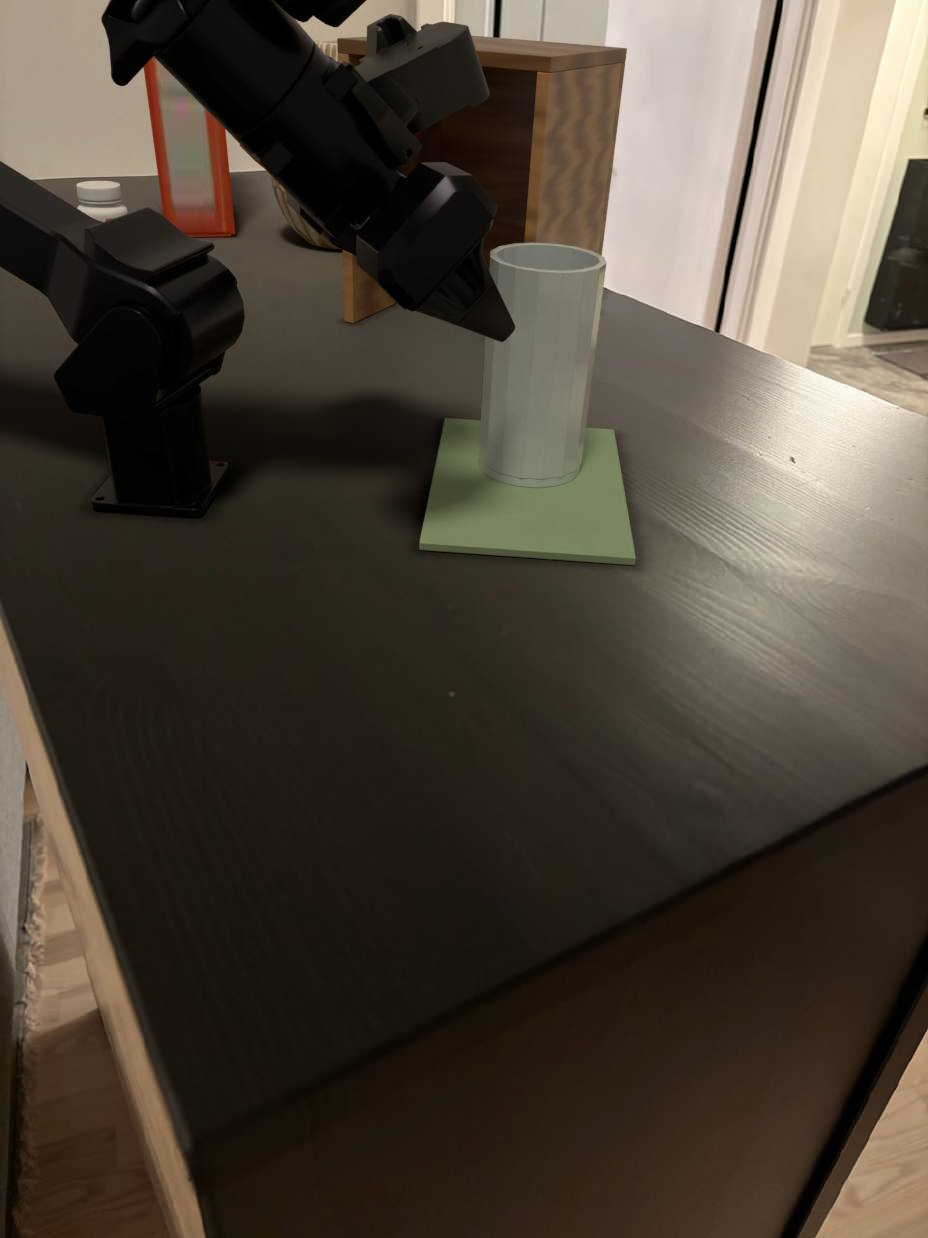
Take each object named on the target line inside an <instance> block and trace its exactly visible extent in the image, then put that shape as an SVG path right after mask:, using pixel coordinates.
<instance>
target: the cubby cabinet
mask: <svg viewBox="0 0 928 1238" xmlns="http://www.w3.org/2000/svg"><path fill="white" fill-rule="evenodd" d="M471 36H472V39H473V42H474V46H475V49H476V52H477V55H478V58H479V61H480V64H481V67H482V71H483V74H484V77H485V80H486V83H487V86H488V89H489V92H490V94H489V96H488V98H487V99H486V100H484V101H483V102H482V103H480V104H478V105H476V106H475V107H473V108H469V107H467V106H466V107H464V108H462V109H460V110H458V111H456V112H455V113H453V114H451V115H449V116H447V117H446V118H444V119H442V120H440V121H438V122H436V123H435V124H433V125H431V126H429V127H427V128H425V129H423V130H421V131H419V132H416V133H412V134H413V135H414V137H415V138H416V139H417V140H418V141H419V143H420V144H421V145H422V146H423V147H422V148H421V149H420V150H419V152H418V153H417V154H416V155H415V156H414V157H413V159H412V160H411V161H410V162H409V163H408V164H407V165H406V166H404V165H403V175H404V176H406V177H407V176H408V175H409V174H410V173H411V172H412V171H413V170H414V168H415V167H416V166H417V165H418V164H419V163H426V162H446V163H448V164H450V165H452V166H454V167H457V168H459V169H461V170H463V171H465V172H467V173H469V174H471V175H473V176H474V177H475V179H476V180H477V181H478V182H479V183H480V185H481V186H482V187H483V188H484V190H485V191H486V192H487V193H488V195H489V196H490V197H491V198H492V199H493V201H494V202H495V203H496V204H497V206H498V207H497V210H496V214H495V217H494V219H493V222H492V226H491V228H490V230H489V232H488V233H487V234H486V236H485V238H484V243H483V249H482V253H483V257H484V259H485V262H486V264H487V266H488V269H489V263H490V251H491V250H493V249H495V248H497V247H499V246H504V245H509V244H515V243H552V244H561V245H568V246H575V247H579V248H583V249H587V250H590V251H594V252H596V253H597V254H599V255H601V256H603V248H604V240H605V233H606V224H607V216H608V210H609V209H608V208H609V202H610V201H609V200H610V191H611V183H612V175H613V167H614V158H615V150H616V142H617V134H618V126H619V118H620V110H621V102H622V93H623V87H624V86H623V84H624V78H625V77H624V76H625V71H626V60H627V53H628V48H627V47H618V46H617V47H616V46H605V45H594V44H593V45H592V44H591V45H590V44H581V43H567V42H556V41H543V40H532V39H531V40H530V39H521V38H520V39H519V38H507V37H495V36H494V37H493V36H484V35H483V36H482V35H471ZM336 40H337V49H338V62H340V63H342V62H343V61H345V62H348V63H350V64H351V65H352V66H353V67H356V66H358V65H360V64H361V63H360V61H359V60H360V59H362V58H363V57H366V49H367V36H353V37H337V39H336ZM342 280H343V281H342V282H343V312H344V313H343V321H344V323H345V322H346V323H350V324H355V323H357V322H359V321H361V320H363V319H365V318H368V317H370V316H372V315H374V314H376V313H378V312H381V311H382V310H386V309H387V308H389V307H391V306H393V305H395V304H398V303H397V302H396V301H394V300H393V299H392V298H391V297H390V296H389V295H388V294H387V293H386V292H385V291H383V290H382V289H381V288H380V287H379V286H378V285H377V284H376V283H375V282H374V281H373V280H372V279H371V278H370V277H369V276H368V275H367V274H366V273H365V272H364V271H363V270H362V269H361V268H360V267H359V266H358V265H357V256H356V255H353V254H351V253H349V252H347V251H345V250H342Z"/></svg>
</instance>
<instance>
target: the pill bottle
mask: <svg viewBox="0 0 928 1238" xmlns="http://www.w3.org/2000/svg"><path fill="white" fill-rule="evenodd" d="M75 187H76V197H77V199H78V202H79V203H81V204H79V205H78V206H77V207H76V208H77V209H79V210H80V211H82V212H83V213H85V214H87V215H88V216H90V217H92V218H94V219H96V220H99V221H102V222H106V221H108V220H111V219H114V218H117V217H120V216H123V215H126V214H128V213H129V211H128V208H127V207H126V206H125V205H124V204H122V203H121V202H122V201H123V192H122V187H121V184H120V183H119V182H116V181H110V180H87V181H81V182H78V183H76V186H75Z"/></svg>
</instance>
